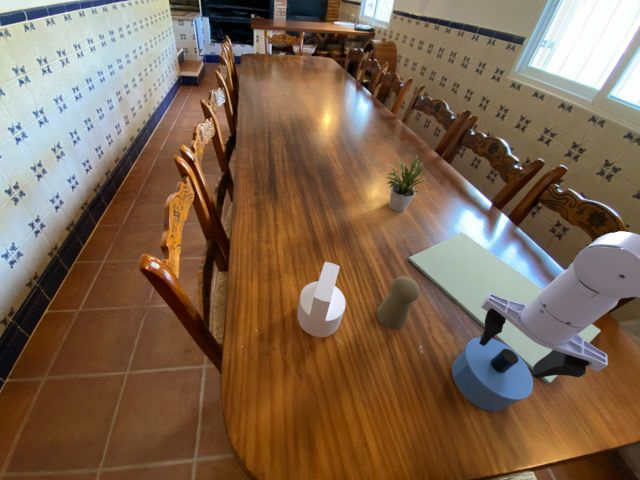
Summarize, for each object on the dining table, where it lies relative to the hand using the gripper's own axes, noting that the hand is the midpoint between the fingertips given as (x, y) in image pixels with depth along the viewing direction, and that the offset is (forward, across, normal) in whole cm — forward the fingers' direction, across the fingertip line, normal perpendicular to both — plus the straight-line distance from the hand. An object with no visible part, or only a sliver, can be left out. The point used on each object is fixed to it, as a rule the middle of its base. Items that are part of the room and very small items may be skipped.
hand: (508, 355), depth 48 cm
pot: (+10, 0, 0) cm, 10 cm away
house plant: (+10, +34, -41) cm, 54 cm away
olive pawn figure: (+10, +18, -2) cm, 21 cm away
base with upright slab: (+10, +30, +9) cm, 32 cm away
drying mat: (+10, +2, -24) cm, 26 cm away
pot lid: (+4, 0, 0) cm, 4 cm away
